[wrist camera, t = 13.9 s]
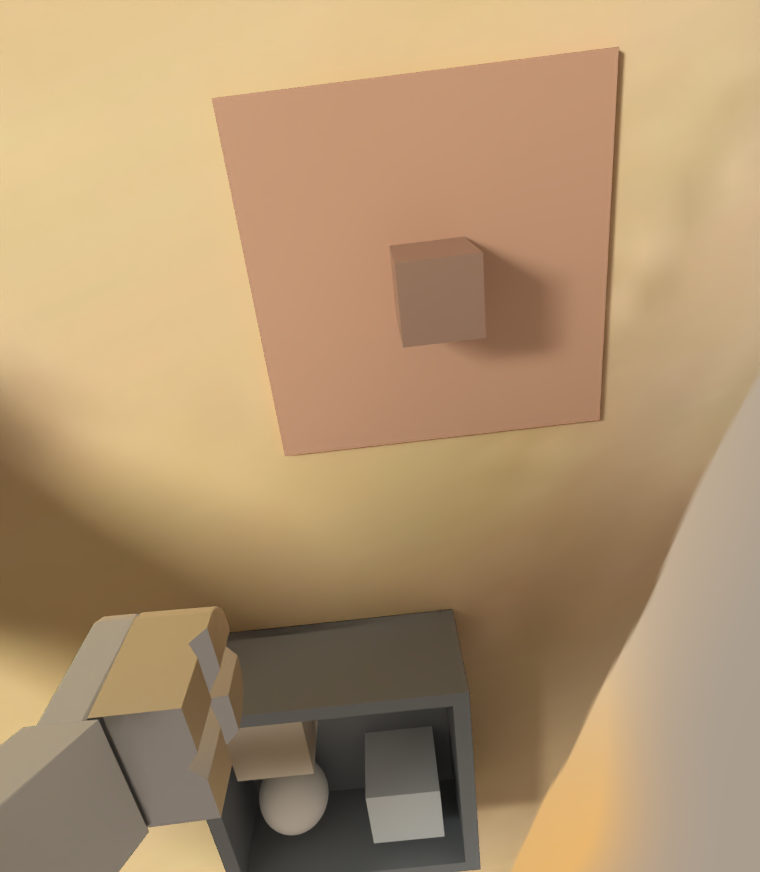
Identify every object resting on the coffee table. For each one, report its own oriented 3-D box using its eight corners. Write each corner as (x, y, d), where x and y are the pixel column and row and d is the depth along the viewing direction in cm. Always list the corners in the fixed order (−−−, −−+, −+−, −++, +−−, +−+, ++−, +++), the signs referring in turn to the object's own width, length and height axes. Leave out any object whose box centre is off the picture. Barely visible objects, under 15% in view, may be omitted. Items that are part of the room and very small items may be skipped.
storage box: (198, 636, 33) (169, 723, 28) (452, 609, 33) (469, 692, 28) (250, 798, 39) (234, 893, 34) (465, 776, 39) (480, 869, 34)
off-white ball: (258, 743, 36) (247, 810, 32) (324, 736, 36) (321, 802, 32) (271, 786, 38) (261, 854, 34) (334, 780, 37) (331, 847, 34)
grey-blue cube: (365, 732, 36) (365, 798, 32) (431, 725, 36) (439, 791, 32) (372, 776, 37) (373, 843, 34) (436, 769, 37) (444, 836, 34)
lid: (217, 100, 22) (182, 88, 18) (608, 50, 22) (672, 25, 18) (287, 446, 29) (274, 502, 24) (591, 411, 28) (635, 461, 24)
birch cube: (235, 665, 33) (220, 728, 29) (307, 658, 33) (301, 720, 29) (250, 715, 35) (237, 781, 31) (318, 708, 35) (313, 773, 31)
